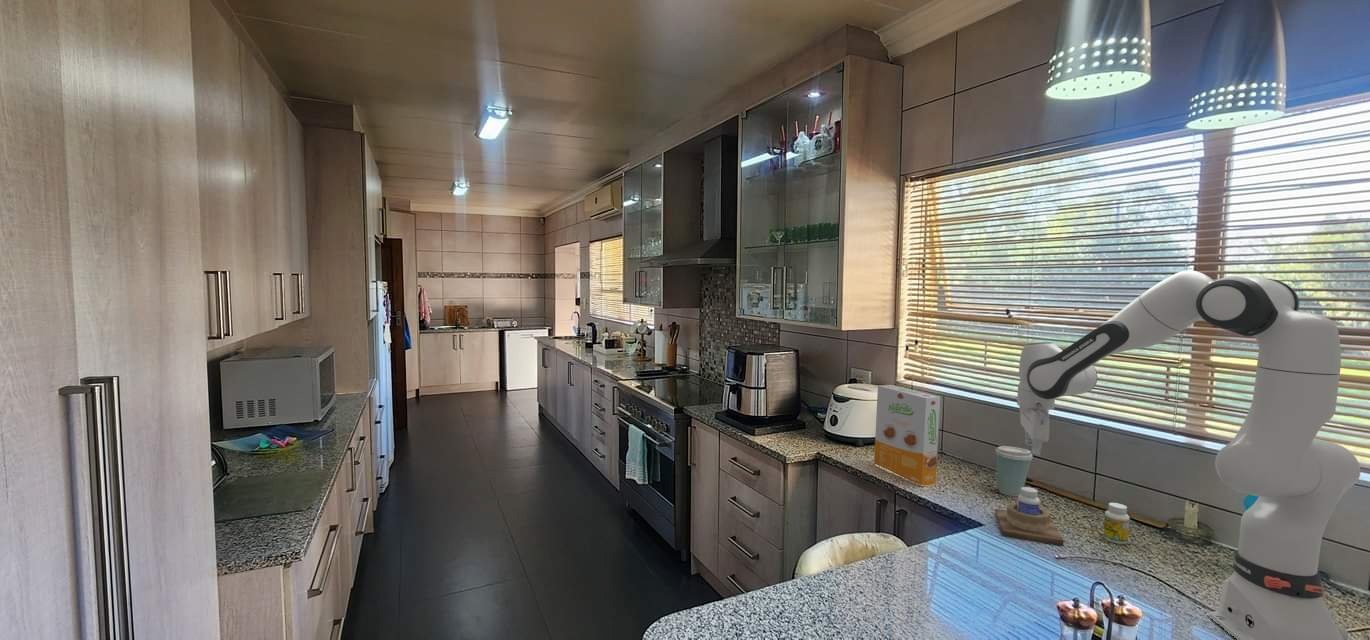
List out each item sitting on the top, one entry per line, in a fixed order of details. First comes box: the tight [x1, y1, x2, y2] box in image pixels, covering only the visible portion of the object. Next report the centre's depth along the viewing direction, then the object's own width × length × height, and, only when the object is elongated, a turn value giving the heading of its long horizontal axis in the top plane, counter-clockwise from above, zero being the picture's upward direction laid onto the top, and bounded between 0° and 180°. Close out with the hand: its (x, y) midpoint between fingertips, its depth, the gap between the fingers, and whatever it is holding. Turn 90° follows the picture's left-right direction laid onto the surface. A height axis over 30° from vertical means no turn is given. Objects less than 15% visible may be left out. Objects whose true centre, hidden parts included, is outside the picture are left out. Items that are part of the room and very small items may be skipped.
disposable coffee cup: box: [994, 445, 1034, 498], centre depth 187 cm, size 11×11×15 cm
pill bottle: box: [1016, 486, 1041, 515], centre depth 160 cm, size 5×5×10 cm
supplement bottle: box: [1102, 502, 1131, 545], centre depth 154 cm, size 5×5×10 cm
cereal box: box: [873, 384, 941, 485], centre depth 201 cm, size 22×6×30 cm, turn 24°
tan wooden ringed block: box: [994, 502, 1065, 547], centre depth 160 cm, size 16×14×6 cm
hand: (1032, 449), depth 159 cm, fingers open, 8 cm apart
